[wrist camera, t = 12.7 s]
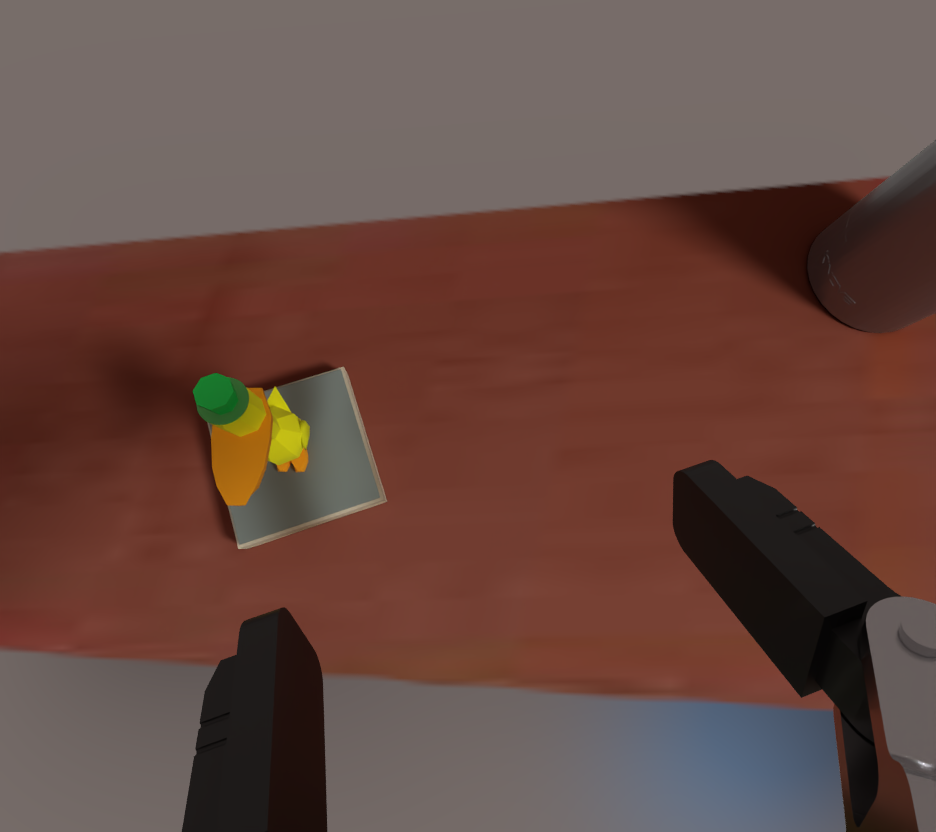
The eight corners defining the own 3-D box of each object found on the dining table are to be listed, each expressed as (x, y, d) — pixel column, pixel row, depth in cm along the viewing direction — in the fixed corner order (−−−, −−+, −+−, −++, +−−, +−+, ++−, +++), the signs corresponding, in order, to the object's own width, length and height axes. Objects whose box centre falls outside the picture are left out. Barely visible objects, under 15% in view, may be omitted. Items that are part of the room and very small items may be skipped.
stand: (347, 374, 36) (342, 365, 34) (387, 501, 35) (383, 499, 33) (215, 415, 35) (201, 407, 33) (248, 548, 33) (236, 549, 32)
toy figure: (319, 514, 32) (247, 498, 21) (258, 514, 32) (152, 499, 20) (324, 405, 34) (260, 333, 22) (266, 405, 34) (171, 333, 22)
